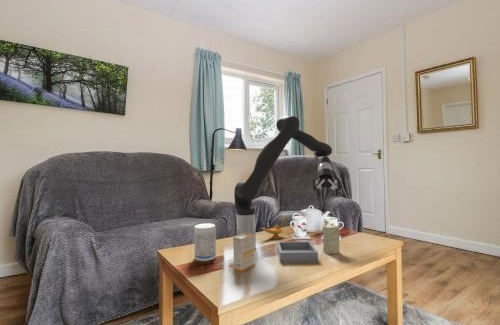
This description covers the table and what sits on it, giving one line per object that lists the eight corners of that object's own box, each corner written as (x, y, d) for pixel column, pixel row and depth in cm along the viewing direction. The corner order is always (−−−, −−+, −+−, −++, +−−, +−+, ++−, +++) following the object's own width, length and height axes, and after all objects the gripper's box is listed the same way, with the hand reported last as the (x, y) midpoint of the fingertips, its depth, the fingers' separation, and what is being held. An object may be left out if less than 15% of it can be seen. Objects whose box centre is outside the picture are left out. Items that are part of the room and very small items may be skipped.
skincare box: (328, 254, 123) (327, 227, 123) (322, 251, 127) (322, 225, 127) (340, 253, 125) (339, 226, 125) (334, 250, 129) (334, 224, 129)
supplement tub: (197, 254, 126) (196, 223, 126) (217, 254, 126) (216, 222, 126) (192, 262, 117) (191, 228, 117) (214, 261, 116) (213, 227, 116)
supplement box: (246, 262, 115) (245, 232, 115) (255, 265, 112) (254, 233, 112) (233, 269, 108) (232, 236, 108) (242, 271, 105) (241, 238, 105)
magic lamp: (256, 238, 152) (256, 218, 152) (283, 234, 160) (283, 215, 160) (262, 241, 145) (262, 221, 145) (290, 236, 154) (289, 217, 154)
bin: (280, 262, 115) (279, 252, 115) (277, 250, 131) (277, 241, 131) (318, 261, 114) (317, 252, 114) (310, 249, 130) (310, 241, 130)
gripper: (311, 168, 148) (313, 191, 136) (339, 167, 145) (343, 191, 134) (311, 177, 153) (313, 200, 141) (337, 176, 150) (341, 200, 139)
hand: (327, 195), depth 138 cm, fingers open, 8 cm apart
